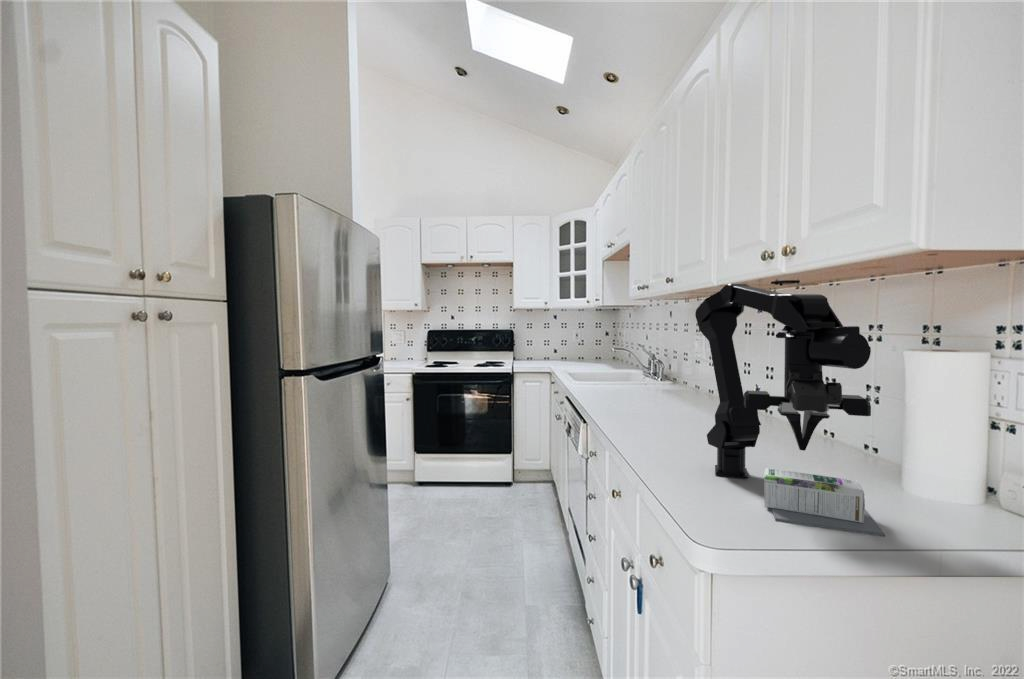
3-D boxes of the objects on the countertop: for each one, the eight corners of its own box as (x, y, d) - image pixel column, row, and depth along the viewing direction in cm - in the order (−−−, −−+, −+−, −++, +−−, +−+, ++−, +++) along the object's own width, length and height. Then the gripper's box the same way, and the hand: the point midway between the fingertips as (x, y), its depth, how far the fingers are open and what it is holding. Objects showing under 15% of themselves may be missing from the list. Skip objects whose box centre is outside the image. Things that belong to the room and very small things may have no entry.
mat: (765, 488, 92) (765, 486, 92) (855, 499, 86) (855, 497, 86) (775, 520, 77) (775, 517, 77) (885, 536, 71) (885, 533, 71)
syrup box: (764, 467, 86) (859, 478, 79) (764, 497, 87) (859, 511, 79) (763, 476, 81) (865, 489, 74) (764, 508, 82) (865, 524, 74)
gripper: (747, 366, 78) (747, 456, 78) (883, 369, 70) (881, 469, 71) (743, 361, 88) (743, 440, 89) (861, 363, 81) (860, 450, 81)
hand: (802, 449), depth 82 cm, fingers closed
